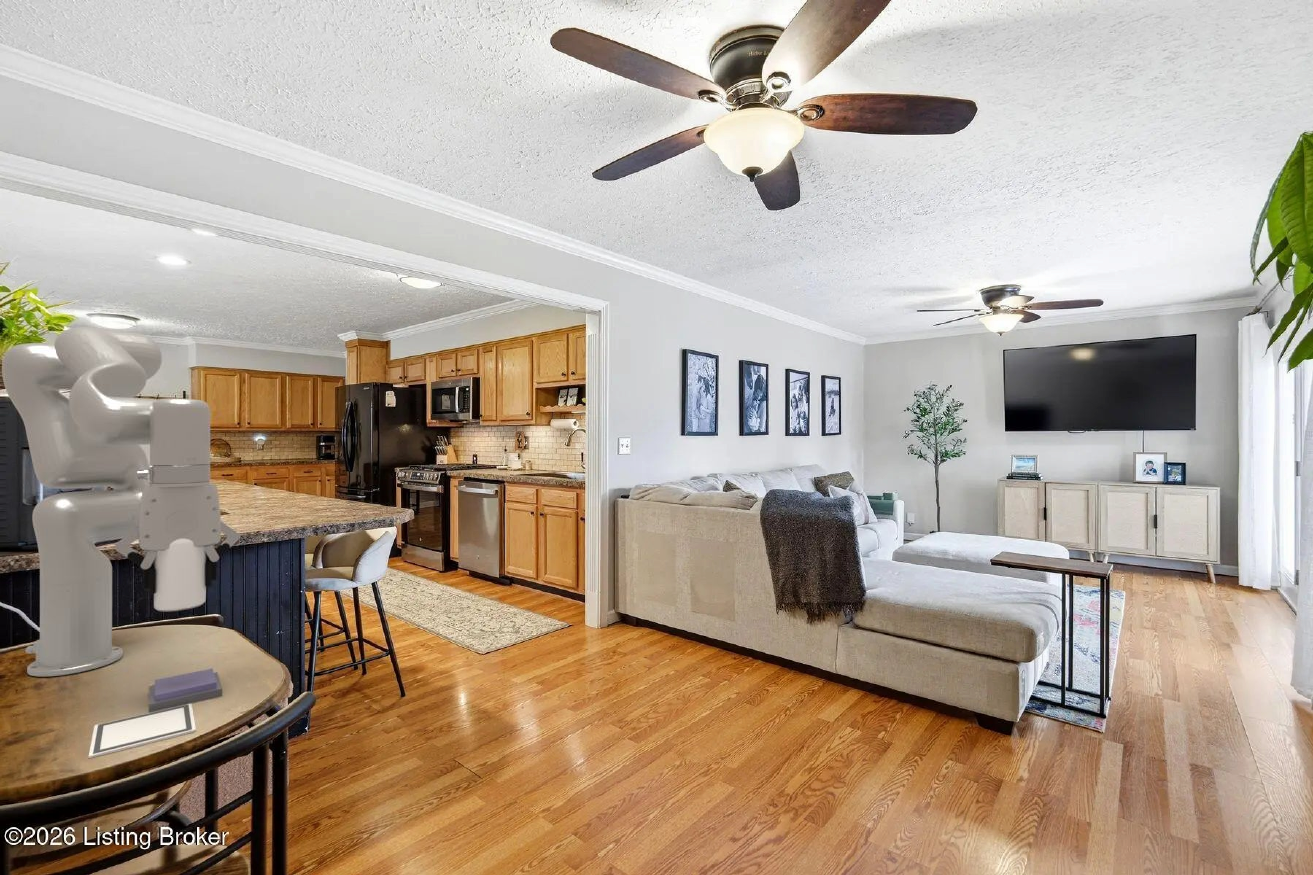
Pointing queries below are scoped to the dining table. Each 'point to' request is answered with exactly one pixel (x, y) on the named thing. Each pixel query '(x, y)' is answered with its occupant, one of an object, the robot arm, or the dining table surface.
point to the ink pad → (184, 689)
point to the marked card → (141, 730)
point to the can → (180, 577)
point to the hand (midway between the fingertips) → (180, 588)
